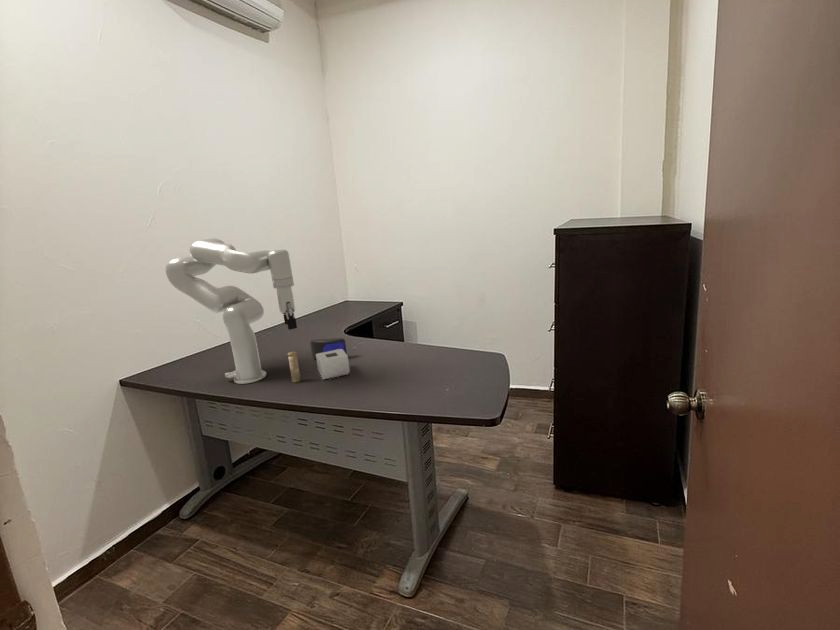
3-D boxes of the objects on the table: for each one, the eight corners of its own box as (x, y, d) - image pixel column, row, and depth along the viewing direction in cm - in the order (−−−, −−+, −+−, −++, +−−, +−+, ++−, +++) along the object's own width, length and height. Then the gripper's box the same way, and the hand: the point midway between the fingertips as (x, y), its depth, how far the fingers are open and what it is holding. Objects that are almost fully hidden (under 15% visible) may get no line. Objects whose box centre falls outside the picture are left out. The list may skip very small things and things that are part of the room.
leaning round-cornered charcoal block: (310, 362, 186) (306, 342, 184) (313, 358, 191) (310, 338, 188) (345, 360, 184) (342, 340, 182) (347, 357, 189) (345, 337, 186)
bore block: (322, 380, 163) (320, 361, 161) (318, 371, 173) (315, 353, 171) (350, 374, 167) (347, 356, 165) (344, 366, 177) (342, 348, 175)
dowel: (292, 383, 163) (288, 354, 160) (291, 380, 166) (287, 352, 163) (301, 381, 164) (296, 353, 161) (300, 379, 167) (295, 351, 164)
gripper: (270, 282, 163) (278, 323, 167) (275, 287, 148) (283, 332, 152) (290, 279, 166) (297, 320, 170) (296, 283, 151) (304, 328, 155)
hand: (290, 326), depth 161 cm, fingers open, 9 cm apart
